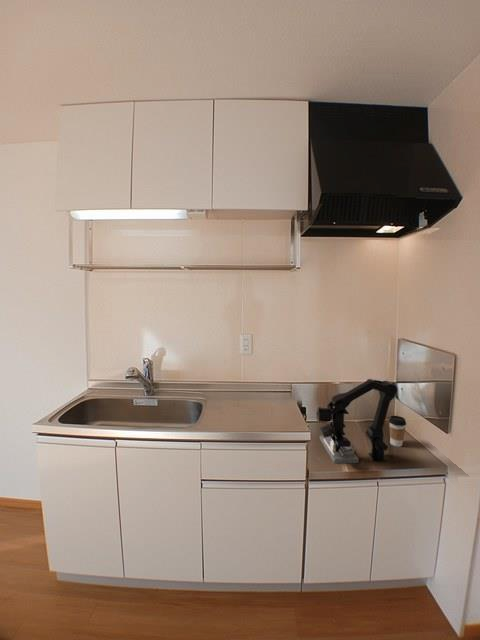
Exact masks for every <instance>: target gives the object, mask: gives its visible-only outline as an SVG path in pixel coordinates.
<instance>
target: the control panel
mask: <svg viewBox="0 0 480 640" xmlns="http://www.w3.org/2000/svg"><path fill="white" fill-rule="evenodd" d="M319 440H320V442H321V444H322V445H323V447H324V448H325V450H326V452H327V453H328V455H329V457H330V458H331V460H332V462H333V463H334V464H354V463H355V464H357V463H358V464H359V463H360V462H359V457H358V456H357V455H356V451H355V450H354V448H353V446H351V450H345V449H343V447H341V448H340V449H339V451H332V449H331V448H330V441H333V440H332V438H331V437H330V436H329V437H323V435H322V434H321V435H319Z"/></svg>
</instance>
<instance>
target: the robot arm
mask: <svg viewBox="0 0 480 640" xmlns="http://www.w3.org/2000/svg"><path fill="white" fill-rule="evenodd" d="M372 390H375V391H378V392H379V400H378V403H377V404H378V405H377V407H376V411H375V414H374V419H373V421H372V423H371V425H370V426H369V425H367V427H366V431H365V436H366V439H368V441H369V442H370V443H371V452H368V456H369V457H370V458H371V459H372V460H373V462H387V461H388V459H387V458H386V457H385V451H387V450H388V449H389V446H388V445H387V444H386V443H385V442H384V436H385V435H384V430H383V428H384V425H385V422H386V419H387V414H388V410H389V406H390V403H391V402H392V400H394V399H395V397H396V395H397V393H398V388H397V386H396V385H395V384H394V383H392V382H390V381H389V380H383V381H382V380H378V379H377V380H376V379H372V378H368V379H366V381H364V382H362V383H360V384H358V385H357V386H355V387H353V388H351V389H350V390H349V391H347V392H343V393H338V394H335V395H333V396H332V397H331V401H330V402H329V403H328V404H327V406H326V407H321V406H320V407H317V410H316V420H317V422H320V423H322V422H323V423H327V424H326V425H323V426H321V427H320V428H319V431H320V432H321V435H323V437H329V436H330V437H331V438H332V440H333V442H334V446H335V450H336V451H339V449H340V448H341V447H350V446H351V447H352V443H351V442H352V441H350V440H349V438H348V437H345V435H346V433H345V430H344V429H345V428H346V424H345V415H349V414H350V413H349V411H348V410H347V408H348V407H349V406H350V404H351V403H352V402H354V401H355V400H357V399H359V398H360V397H362V396H364V395H365V394H367V393H369V392H370V391H372ZM328 422H329V424H328ZM343 435H344V436H343Z"/></svg>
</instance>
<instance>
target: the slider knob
mask: <svg viewBox="0 0 480 640" xmlns="http://www.w3.org/2000/svg"><path fill="white" fill-rule="evenodd" d="M330 448H331V449H332V451H336V450H335V446H334V442H333V441H330Z"/></svg>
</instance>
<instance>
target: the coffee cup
mask: <svg viewBox="0 0 480 640" xmlns="http://www.w3.org/2000/svg"><path fill="white" fill-rule="evenodd" d="M388 423H389V443H390V445H391V446H394V447H398V448H399V447H403V443H404V437H405V431H406V425H407V421H406V418H404V417H402V416H400V415H391V416H390V417H389V419H388Z"/></svg>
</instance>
